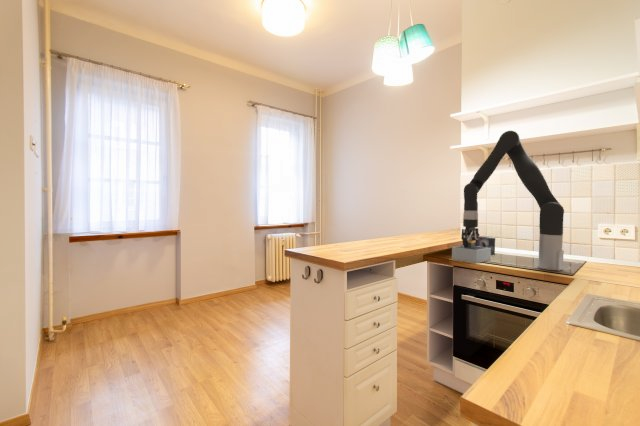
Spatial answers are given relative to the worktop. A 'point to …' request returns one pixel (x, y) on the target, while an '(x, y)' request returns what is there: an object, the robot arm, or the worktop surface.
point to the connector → (471, 244)
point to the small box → (487, 243)
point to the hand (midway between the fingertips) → (469, 246)
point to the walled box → (471, 254)
